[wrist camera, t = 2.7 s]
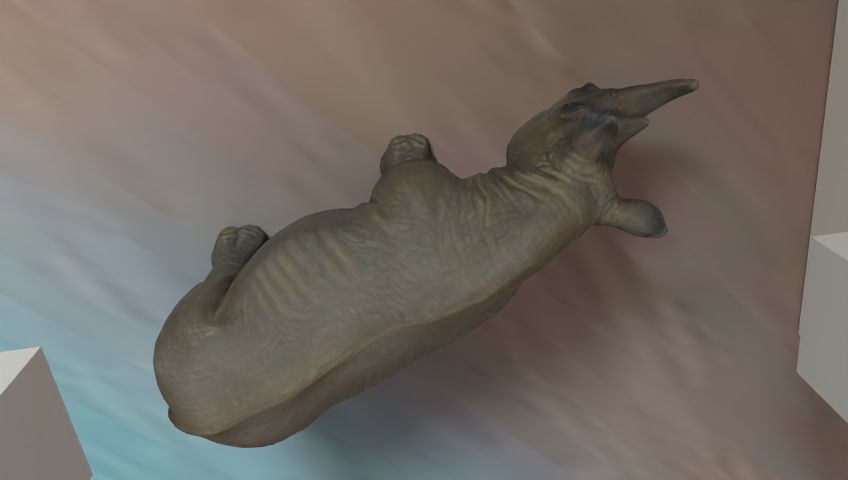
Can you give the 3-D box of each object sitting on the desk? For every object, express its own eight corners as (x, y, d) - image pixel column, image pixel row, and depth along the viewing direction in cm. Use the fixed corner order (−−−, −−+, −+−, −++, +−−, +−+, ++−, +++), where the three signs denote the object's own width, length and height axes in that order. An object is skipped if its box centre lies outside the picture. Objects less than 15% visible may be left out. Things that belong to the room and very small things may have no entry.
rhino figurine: (677, 136, 18) (812, 225, 12) (241, 373, 20) (193, 539, 14) (617, -8, 16) (742, 21, 11) (150, 264, 18) (57, 404, 13)
